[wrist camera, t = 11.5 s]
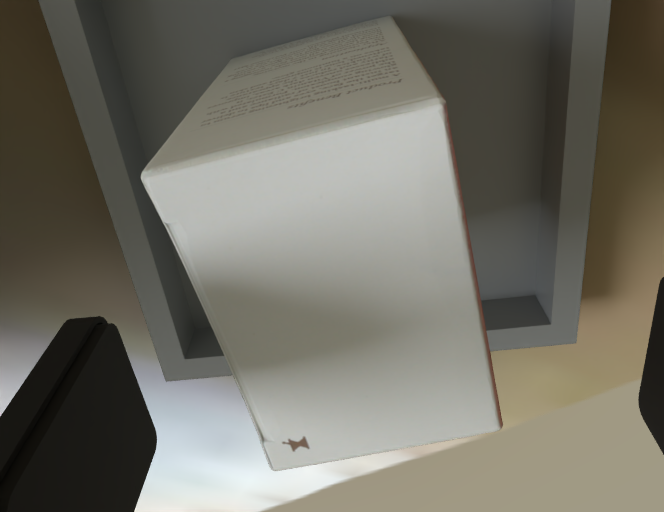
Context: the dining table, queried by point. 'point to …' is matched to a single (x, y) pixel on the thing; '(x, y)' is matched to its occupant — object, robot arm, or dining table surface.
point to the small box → (332, 247)
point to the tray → (464, 117)
